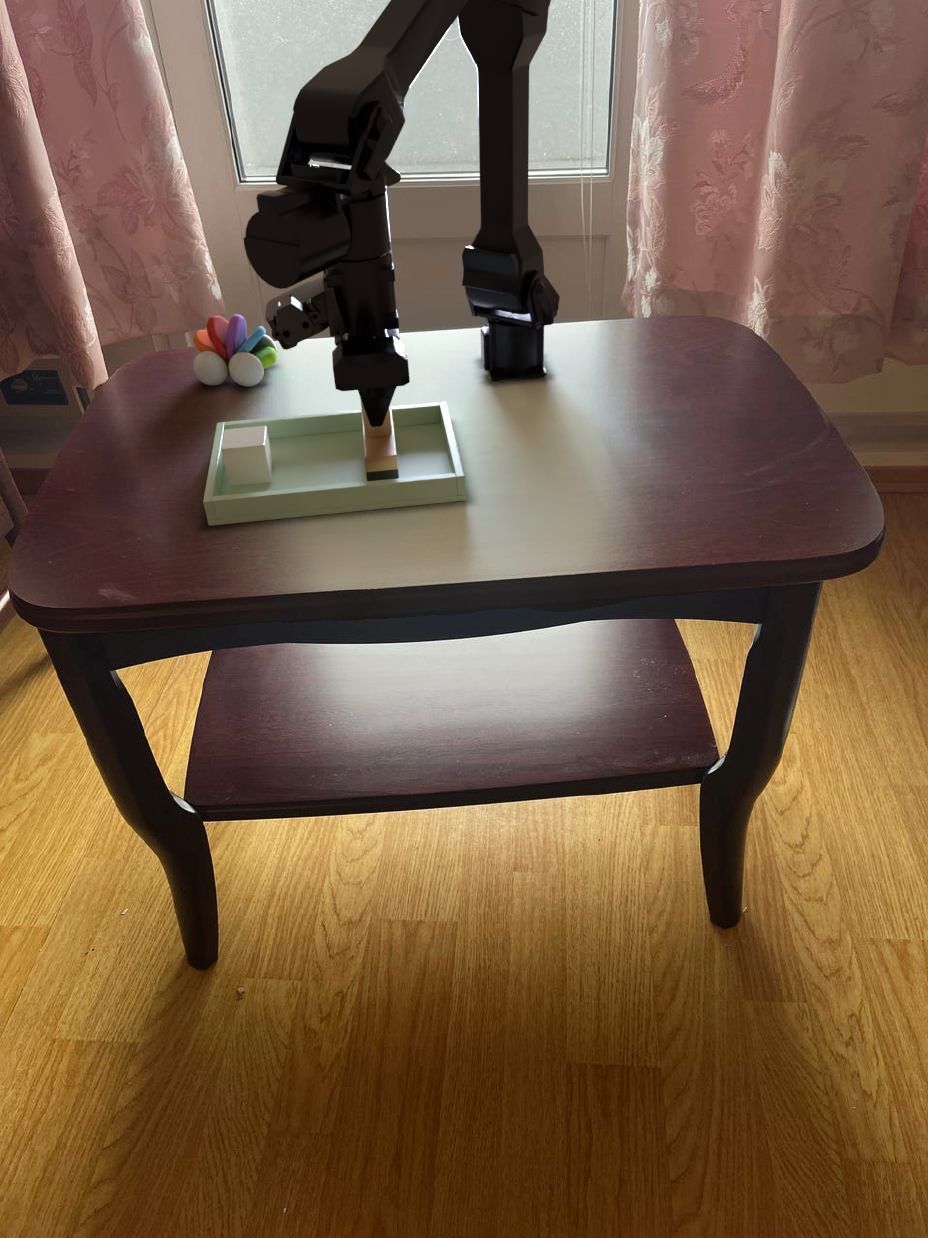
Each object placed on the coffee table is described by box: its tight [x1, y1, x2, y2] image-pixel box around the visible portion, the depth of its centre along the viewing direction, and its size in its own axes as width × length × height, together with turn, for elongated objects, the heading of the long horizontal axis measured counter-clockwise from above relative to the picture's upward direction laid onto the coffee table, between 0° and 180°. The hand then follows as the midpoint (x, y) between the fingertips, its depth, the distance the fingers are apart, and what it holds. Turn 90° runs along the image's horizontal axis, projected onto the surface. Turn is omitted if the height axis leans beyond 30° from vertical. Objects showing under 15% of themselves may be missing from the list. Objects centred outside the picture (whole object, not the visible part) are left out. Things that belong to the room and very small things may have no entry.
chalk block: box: [221, 426, 273, 486], centre depth 91 cm, size 4×4×4 cm
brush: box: [359, 397, 399, 481], centre depth 90 cm, size 3×10×9 cm, turn 6°
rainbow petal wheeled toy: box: [192, 313, 278, 387], centre depth 110 cm, size 8×10×7 cm
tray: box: [202, 401, 467, 527], centre depth 92 cm, size 24×16×3 cm, turn 97°
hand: (375, 418), depth 90 cm, fingers closed on brush, 2 cm apart
